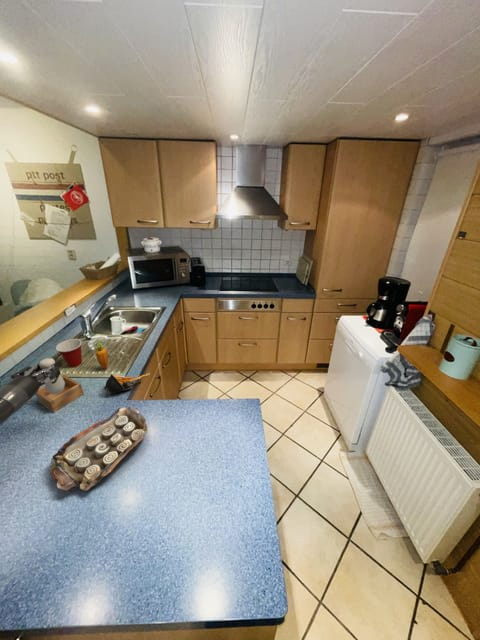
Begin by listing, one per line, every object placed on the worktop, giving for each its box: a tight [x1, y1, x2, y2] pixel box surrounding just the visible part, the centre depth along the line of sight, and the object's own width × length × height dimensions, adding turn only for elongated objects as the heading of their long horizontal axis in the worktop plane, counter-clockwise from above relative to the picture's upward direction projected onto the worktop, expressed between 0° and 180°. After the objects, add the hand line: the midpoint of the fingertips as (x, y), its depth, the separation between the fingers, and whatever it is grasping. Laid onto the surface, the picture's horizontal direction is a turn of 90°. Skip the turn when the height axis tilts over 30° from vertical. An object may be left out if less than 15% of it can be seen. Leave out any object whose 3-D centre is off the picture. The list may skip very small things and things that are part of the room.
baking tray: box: [49, 406, 149, 492], centre depth 83 cm, size 30×22×5 cm
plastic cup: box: [55, 338, 83, 368], centre depth 125 cm, size 11×11×12 cm
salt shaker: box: [38, 357, 65, 394], centre depth 87 cm, size 6×6×13 cm
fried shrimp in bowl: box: [104, 372, 151, 395], centre depth 111 cm, size 9×11×18 cm
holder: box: [34, 375, 85, 413], centre depth 105 cm, size 12×12×6 cm
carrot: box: [93, 341, 109, 370], centre depth 121 cm, size 5×5×15 cm
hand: (53, 362), depth 88 cm, fingers closed on salt shaker, 4 cm apart
